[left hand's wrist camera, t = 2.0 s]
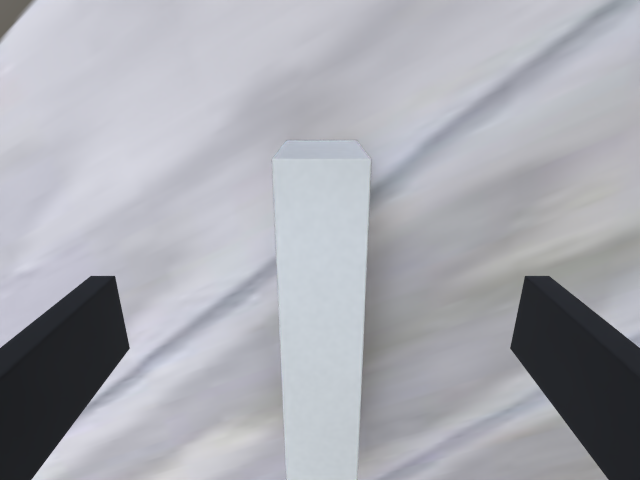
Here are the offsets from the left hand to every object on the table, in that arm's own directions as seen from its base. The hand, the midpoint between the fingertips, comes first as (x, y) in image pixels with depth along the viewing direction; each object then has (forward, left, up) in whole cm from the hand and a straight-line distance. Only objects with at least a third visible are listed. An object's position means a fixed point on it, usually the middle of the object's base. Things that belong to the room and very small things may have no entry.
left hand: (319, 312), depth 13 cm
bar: (-7, +7, -18) cm, 21 cm away
